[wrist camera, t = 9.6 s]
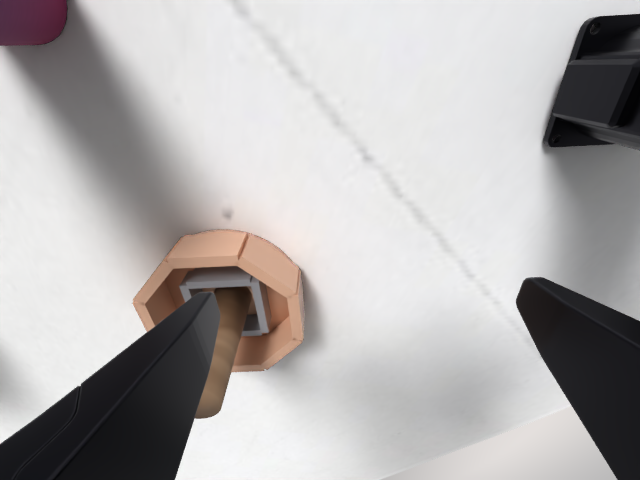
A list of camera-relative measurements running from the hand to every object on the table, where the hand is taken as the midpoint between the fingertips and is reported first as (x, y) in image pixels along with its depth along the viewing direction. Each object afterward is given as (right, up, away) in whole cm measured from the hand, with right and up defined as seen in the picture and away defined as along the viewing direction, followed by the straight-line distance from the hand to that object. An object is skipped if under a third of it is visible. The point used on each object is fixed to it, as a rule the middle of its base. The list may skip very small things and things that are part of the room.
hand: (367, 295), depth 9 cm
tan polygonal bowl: (-9, -3, +16) cm, 18 cm away
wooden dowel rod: (-8, -3, +15) cm, 18 cm away
